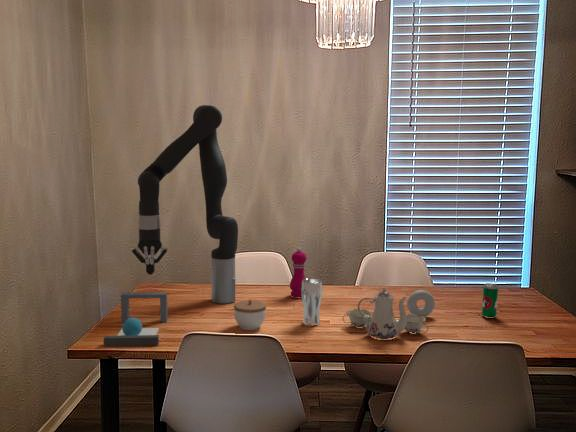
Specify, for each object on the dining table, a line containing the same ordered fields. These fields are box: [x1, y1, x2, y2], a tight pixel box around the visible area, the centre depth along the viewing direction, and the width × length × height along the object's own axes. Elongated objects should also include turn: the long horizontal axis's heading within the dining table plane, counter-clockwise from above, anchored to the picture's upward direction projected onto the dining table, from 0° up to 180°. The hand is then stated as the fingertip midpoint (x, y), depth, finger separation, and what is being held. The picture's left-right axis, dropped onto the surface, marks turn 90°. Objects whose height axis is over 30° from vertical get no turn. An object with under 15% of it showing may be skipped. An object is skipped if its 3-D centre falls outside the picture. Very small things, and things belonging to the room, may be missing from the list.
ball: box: [121, 317, 143, 336], centre depth 172 cm, size 6×6×6 cm
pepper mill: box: [289, 247, 308, 298], centre depth 220 cm, size 7×7×20 cm
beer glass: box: [301, 278, 323, 325], centre depth 187 cm, size 7×7×15 cm
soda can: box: [481, 282, 499, 317], centre depth 196 cm, size 5×5×12 cm
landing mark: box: [116, 327, 160, 336], centre depth 174 cm, size 12×12×1 cm
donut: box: [406, 289, 436, 318], centre depth 195 cm, size 10×4×10 cm, turn 94°
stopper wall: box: [103, 334, 160, 347], centre depth 165 cm, size 16×2×2 cm, turn 95°
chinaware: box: [342, 287, 429, 339], centre depth 178 cm, size 28×17×17 cm, turn 78°
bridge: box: [120, 291, 169, 324], centre depth 187 cm, size 3×15×10 cm, turn 95°
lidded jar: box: [233, 299, 267, 331], centre depth 182 cm, size 11×11×9 cm
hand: (150, 274), depth 199 cm, fingers closed
